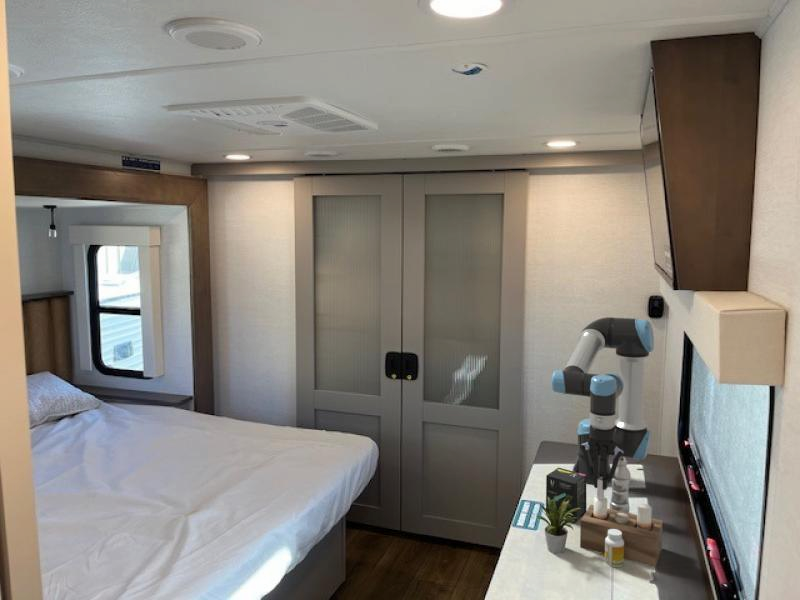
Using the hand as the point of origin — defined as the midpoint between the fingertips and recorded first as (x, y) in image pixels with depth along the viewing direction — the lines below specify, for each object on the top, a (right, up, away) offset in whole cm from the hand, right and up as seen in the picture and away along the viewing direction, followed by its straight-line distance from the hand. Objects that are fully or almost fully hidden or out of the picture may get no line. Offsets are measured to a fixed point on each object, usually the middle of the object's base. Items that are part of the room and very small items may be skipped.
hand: (600, 498), depth 191 cm
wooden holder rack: (+6, -15, -1) cm, 16 cm away
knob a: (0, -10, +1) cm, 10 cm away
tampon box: (-5, -13, +20) cm, 25 cm away
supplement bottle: (+1, -16, -9) cm, 19 cm away
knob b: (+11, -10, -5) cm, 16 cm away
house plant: (-15, -16, -3) cm, 22 cm away
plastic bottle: (+13, -12, +20) cm, 27 cm away
